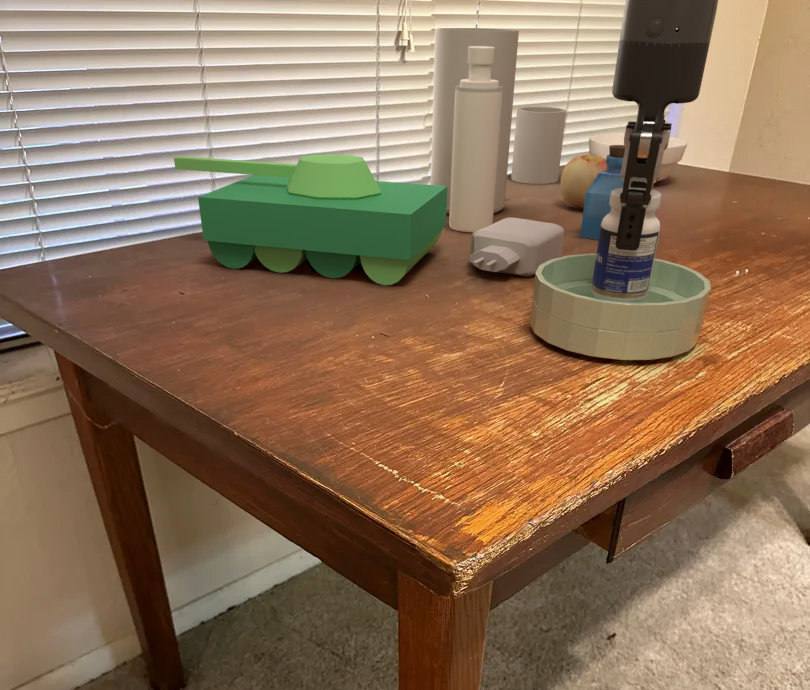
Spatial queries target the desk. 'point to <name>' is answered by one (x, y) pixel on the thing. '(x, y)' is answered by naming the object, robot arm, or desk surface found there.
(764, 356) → the desk surface
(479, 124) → the spray bottle
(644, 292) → the pill bottle
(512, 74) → the cylinder vase
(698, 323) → the ceramic bowl
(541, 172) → the cup
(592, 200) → the perfume bottle
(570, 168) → the apple
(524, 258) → the charger
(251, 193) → the toy tank
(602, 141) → the bowl
